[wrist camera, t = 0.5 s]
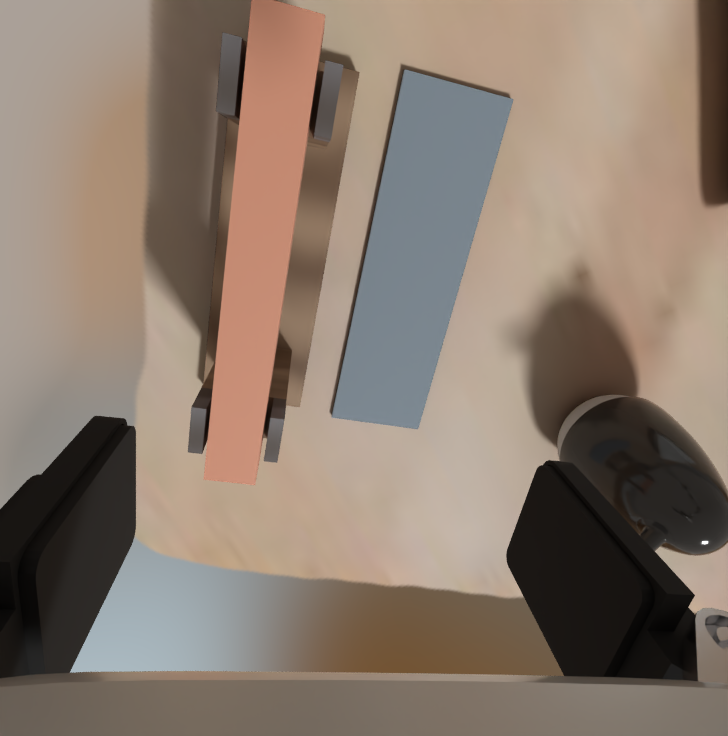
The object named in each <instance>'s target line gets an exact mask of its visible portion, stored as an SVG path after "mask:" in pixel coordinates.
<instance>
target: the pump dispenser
mask: <svg viewBox="0 0 728 736" xmlns="http://www.w3.org/2000/svg"><path fill="white" fill-rule="evenodd" d="M557 448H558V455H559V459H560V461H561V462H570V463H573V464H574V465H575V466H576V467H577V468H578V469H579V470H580V471H581V472H582V473H583V474H584V475H585V477H586V478H587V479H588V480H589V481H590V482H591V483H592V484H593V485H594V486H595V487H596V488H597V490H598V491H599V492H600V493H601V494H602V495H603V496H604V497H605V498H606V499H607V500H608V501H609V503H610V504H611V505H612V506H613V507H614V508H615V509H616V510H617V511H618V512H619V513H620V515H621V516H622V517H623V518H624V519H625V520H626V521H627V522H628V523H629V524H630V525H631V526H632V528H633V529H634V530H635V531H636V532H637V533H638V534H639V535H640V536H641V537H642V538H643V539H644V541H645V542H646V543H647V544H648V545H649V546H650V547H651V548H652V549H653V550H654V551H655V550H657V549H658V548H659V547H662V548H664V549H667V550H670V551H673V552H677V553H681V554H685V555H694V556H699V555H707V554H711V553H713V552H716V551H718V550H720V549H721V548H723V547H724V546H725V545H726V544H727V543H728V489H727V487H726V485H725V483H724V481H723V480H722V478H721V476H720V474H719V473H718V471H717V469H716V468H715V466H714V464H713V463H712V461H711V460H710V458H709V457H708V456H707V454H706V453H705V452H704V450H703V449H702V448H701V446H700V445H699V444H698V443H697V442H696V440H695V439H694V438H693V437H692V436H691V435H690V434H689V433H688V432H687V431H686V430H685V429H684V428H683V427H682V426H681V425H680V424H679V423H678V422H677V421H676V420H675V419H674V418H673V417H672V416H671V415H670V414H668V413H667V412H666V411H665V410H663V409H662V408H661V407H659V406H658V405H656V404H655V403H653V402H651V401H649V400H646V399H643V398H639V397H629V396H624V395H604V396H599V397H595V398H592V399H590V400H588V401H586V402H584V403H582V404H581V405H579V406H578V407H576V408H575V409H574V410H573V411H572V412H571V413H570V414H569V415H568V416H567V418H566V419H565V421H564V422H563V424H562V426H561V429H560V432H559V436H558V442H557Z"/></svg>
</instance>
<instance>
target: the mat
mask: <svg viewBox="0 0 728 736" xmlns="http://www.w3.org/2000/svg"><path fill="white" fill-rule="evenodd" d="M512 103H513V99H511V98H507V97H503V96H500V95H496V94H492V93H489V92H485V91H482V90H478V89H474V88H471V87H467V86H463V85H460V84H456V83H453V82H449V81H445V80H442V79H438V78H434V77H431V76H427V75H424V74H420V73H416V72H413V71H409V70H404V71H403V76H402V81H401V86H400V91H399V95H398V100H397V105H396V110H395V114H394V119H393V124H392V129H391V134H390V138H389V143H388V148H387V153H386V158H385V162H384V167H383V172H382V177H381V182H380V186H379V191H378V196H377V201H376V206H375V210H374V215H373V220H372V225H371V229H370V234H369V239H368V244H367V249H366V253H365V258H364V263H363V268H362V273H361V277H360V282H359V287H358V292H357V297H356V301H355V306H354V311H353V316H352V321H351V325H350V330H349V335H348V340H347V345H346V349H345V354H344V359H343V364H342V368H341V373H340V378H339V383H338V388H337V392H336V397H335V402H334V407H333V412H332V418H339V419H347V420H354V421H361V422H369V423H376V424H383V425H391V426H398V427H405V428H413V429H418V427H419V424H420V420H421V417H422V414H423V410H424V407H425V403H426V400H427V396H428V393H429V389H430V386H431V382H432V379H433V376H434V372H435V369H436V365H437V362H438V358H439V355H440V351H441V348H442V345H443V341H444V338H445V334H446V331H447V327H448V324H449V320H450V317H451V313H452V310H453V307H454V303H455V300H456V296H457V293H458V289H459V286H460V282H461V279H462V275H463V272H464V269H465V265H466V262H467V258H468V255H469V251H470V248H471V244H472V241H473V237H474V234H475V231H476V227H477V224H478V220H479V217H480V213H481V210H482V206H483V203H484V199H485V196H486V193H487V189H488V186H489V182H490V179H491V175H492V172H493V168H494V165H495V161H496V158H497V155H498V151H499V148H500V144H501V141H502V137H503V134H504V130H505V127H506V123H507V120H508V117H509V113H510V110H511V106H512Z"/></svg>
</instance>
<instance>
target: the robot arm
mask: <svg viewBox="0 0 728 736" xmlns="http://www.w3.org/2000/svg"><path fill="white" fill-rule="evenodd" d="M135 530H136V430H135V427H134V426H127V422H126V420H125V419H124V418H114V417H104V416H94V417H93V418H92V419H91V420H90V421H89V423H87V425H86V426H85V427H84V428H83V429H82V430H81V431H80V432H79V434H78V435H77V436H76V437H75V438H74V439H73V440H72V441H71V442H70V443H69V444H68V446H67V447H66V448H65V449H64V450H63V451H62V452H61V453H60V454H59V456H58V457H57V458H56V459H55V460H54V461H53V462H52V464H51V465H50V466H49V467H48V468H47V469H46V470H45V471H44V472H43V473H42V474H41V475H35V476H32V477H31V478H30V479H29V480H27V481H26V482H25V483H24V484H23V485H22V487H21V488H20V489H19V490H18V491H17V492H16V493H15V494H14V495H13V496H12V497H11V498H10V499H9V500H8V502H7V503H6V504H5V505H4V506H3V507H2V508H1V509H0V736H728V612H726V611H723V610H719V609H714V608H703V609H701V610H700V611H698V612H697V613H696V615H694V613H693V612H692V611H691V610H690V609H689V608H688V606H689V605H690V603H691V601H692V599H693V598H694V596H695V595H694V594H693V593H692V592H691V590H690V589H689V588H688V587H687V586H686V585H685V584H684V583H683V582H682V581H681V580H680V579H679V577H678V576H677V575H676V574H675V573H674V572H673V571H672V570H671V569H670V568H669V567H668V565H667V564H666V563H665V562H664V561H663V560H662V559H661V558H660V557H659V556H658V555H657V554H656V552H655V551H654V550H653V549H652V548H651V547H650V546H649V545H648V544H647V543H646V542H645V541H644V539H643V538H642V537H641V536H640V535H639V534H638V533H637V532H636V531H635V530H634V529H633V528H632V526H631V525H630V524H629V523H628V522H627V521H626V520H625V519H624V518H623V517H622V516H621V515H620V513H619V512H618V511H617V510H616V509H615V508H614V507H613V506H612V505H611V504H610V503H609V501H608V500H607V499H606V498H605V497H604V496H603V495H602V494H601V493H600V492H599V491H598V490H597V488H596V487H595V486H594V485H593V484H592V483H591V482H590V481H589V480H588V479H587V478H586V477H585V475H584V474H583V473H582V472H581V471H580V470H579V469H578V468H577V467H576V466H575V465H574V464H573V463H570V462H561V461H551V460H549V461H546V462H545V463H544V464H543V466H542V465H541V466H539V467H538V468H537V470H536V472H535V475H534V478H533V481H532V483H531V486H530V489H529V492H528V494H527V497H526V500H525V503H524V505H523V508H522V511H521V513H520V516H519V519H518V522H517V524H516V527H515V530H514V533H513V535H512V538H511V541H510V544H509V546H508V549H507V555H506V557H507V564H508V566H509V568H510V570H511V572H512V574H513V576H514V578H515V580H516V582H517V584H518V586H519V588H520V590H521V592H522V594H523V596H524V598H525V600H526V602H527V604H528V606H529V607H530V610H531V612H532V614H533V615H534V617H535V619H536V621H537V623H538V625H539V627H540V629H541V631H542V633H543V635H544V637H545V639H546V641H547V643H548V645H549V647H550V649H551V651H552V653H553V655H554V657H555V659H556V660H557V662H558V664H559V666H560V668H561V670H562V672H563V674H564V676H530V675H479V674H478V675H477V674H416V673H415V674H414V673H344V672H337V673H336V672H233V671H232V672H231V671H229V672H228V671H154V672H153V671H148V672H146V671H144V672H78V673H77V672H76V673H70V671H71V669H72V666H73V664H74V662H75V660H76V658H77V656H78V654H79V652H80V650H81V648H82V646H83V644H84V642H85V640H86V638H87V636H88V633H89V631H90V629H91V627H92V625H93V623H94V621H95V619H96V617H97V615H98V613H99V611H100V609H101V607H102V605H103V603H104V600H105V599H106V596H107V594H108V592H109V590H110V588H111V586H112V584H113V582H114V580H115V578H116V576H117V574H118V572H119V569H120V568H121V566H122V564H123V561H124V559H125V557H126V555H127V553H128V551H129V549H130V547H131V545H132V542H133V539H134V535H135Z"/></svg>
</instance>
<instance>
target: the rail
mask: <svg viewBox="0 0 728 736" xmlns="http://www.w3.org/2000/svg"><path fill="white" fill-rule="evenodd" d="M324 23H325V15H324V14H320V13H317V12H313V11H310V10H307V9H303V8H300V7H296V6H293V5H289V4H286V3H282V2H279V1H275V0H252V1H251V11H250V21H249V31H248V41H247V51H246V61H245V71H244V81H243V91H242V101H241V111H240V121H239V131H238V141H237V151H236V161H235V171H234V181H233V191H232V201H231V211H230V221H229V231H228V241H227V251H226V261H225V271H224V281H223V291H222V301H221V311H220V321H219V331H218V341H217V351H216V361H215V371H214V381H213V391H212V401H211V412H210V422H209V432H208V442H207V452H206V462H205V472H204V480H213V481H222V482H231V483H241V484H250V485H255V482H256V477H257V471H258V466H259V460H260V454H261V447H262V441H263V434H264V427H265V421H266V414H267V407H268V401H269V394H270V387H271V381H272V374H273V367H274V361H275V354H276V347H277V341H278V334H279V328H280V321H281V314H282V308H283V301H284V294H285V288H286V281H287V274H288V268H289V261H290V254H291V248H292V241H293V234H294V228H295V221H296V214H297V208H298V201H299V194H300V188H301V181H302V174H303V168H304V161H305V154H306V148H307V141H308V134H309V128H310V121H311V114H312V108H313V101H314V94H315V88H316V81H317V74H318V68H319V61H320V54H321V48H322V41H323V34H324Z"/></svg>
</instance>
